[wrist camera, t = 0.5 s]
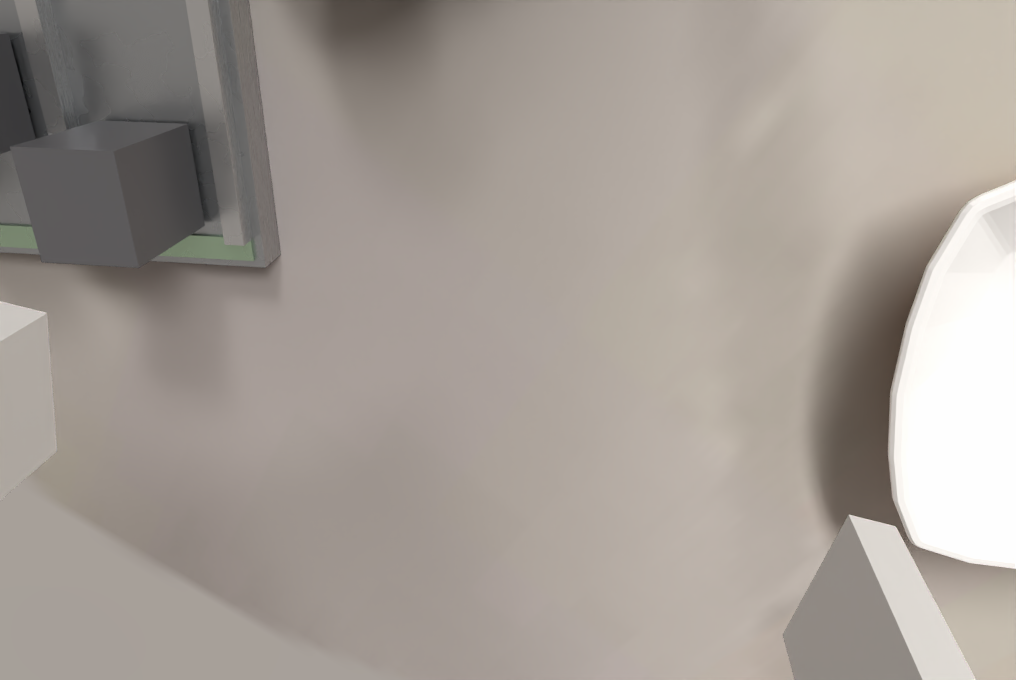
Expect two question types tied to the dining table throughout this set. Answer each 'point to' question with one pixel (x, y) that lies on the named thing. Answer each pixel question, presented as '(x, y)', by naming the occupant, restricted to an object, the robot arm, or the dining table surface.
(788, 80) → the dining table surface
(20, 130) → the block
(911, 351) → the bowl
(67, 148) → the breaker
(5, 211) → the panel
